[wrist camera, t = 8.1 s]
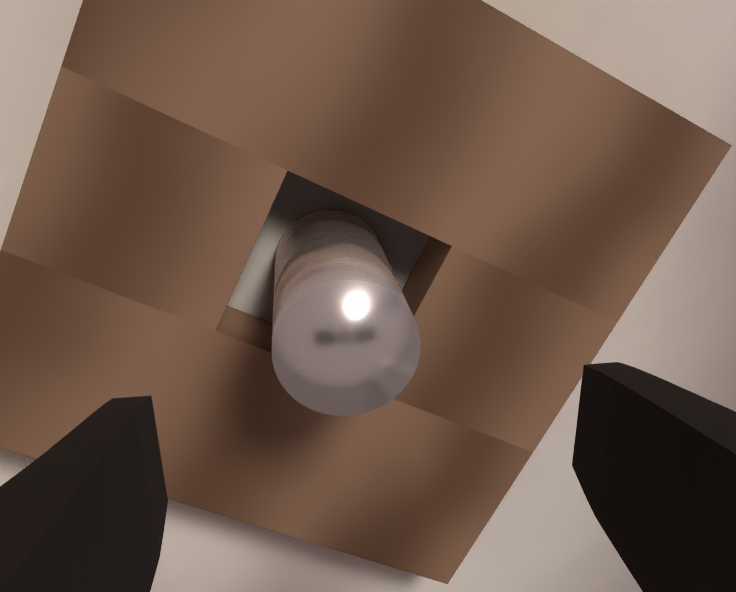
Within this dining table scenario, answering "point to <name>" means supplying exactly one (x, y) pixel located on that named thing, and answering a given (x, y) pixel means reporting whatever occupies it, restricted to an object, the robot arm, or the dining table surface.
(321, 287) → the steel roller
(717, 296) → the dining table surface
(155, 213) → the walnut plate
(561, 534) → the dining table surface
